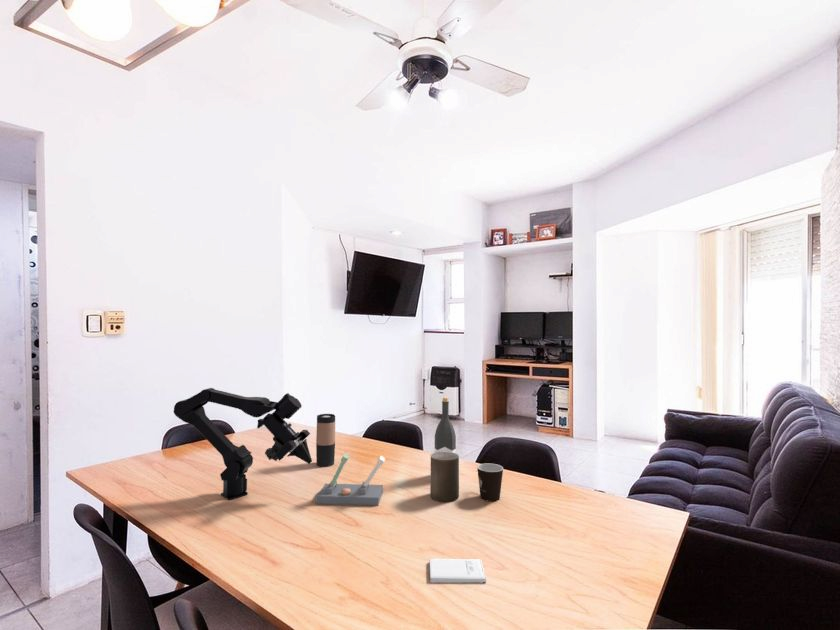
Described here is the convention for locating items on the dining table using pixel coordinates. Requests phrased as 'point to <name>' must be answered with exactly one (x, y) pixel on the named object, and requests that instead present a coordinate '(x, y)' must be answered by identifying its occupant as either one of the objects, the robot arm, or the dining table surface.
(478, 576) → the external hard drive
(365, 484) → the ivory lever
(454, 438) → the wine bottle
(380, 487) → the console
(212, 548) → the dining table surface
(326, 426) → the travel mug
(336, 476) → the green lever
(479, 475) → the coffee mug
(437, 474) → the pillar candle
